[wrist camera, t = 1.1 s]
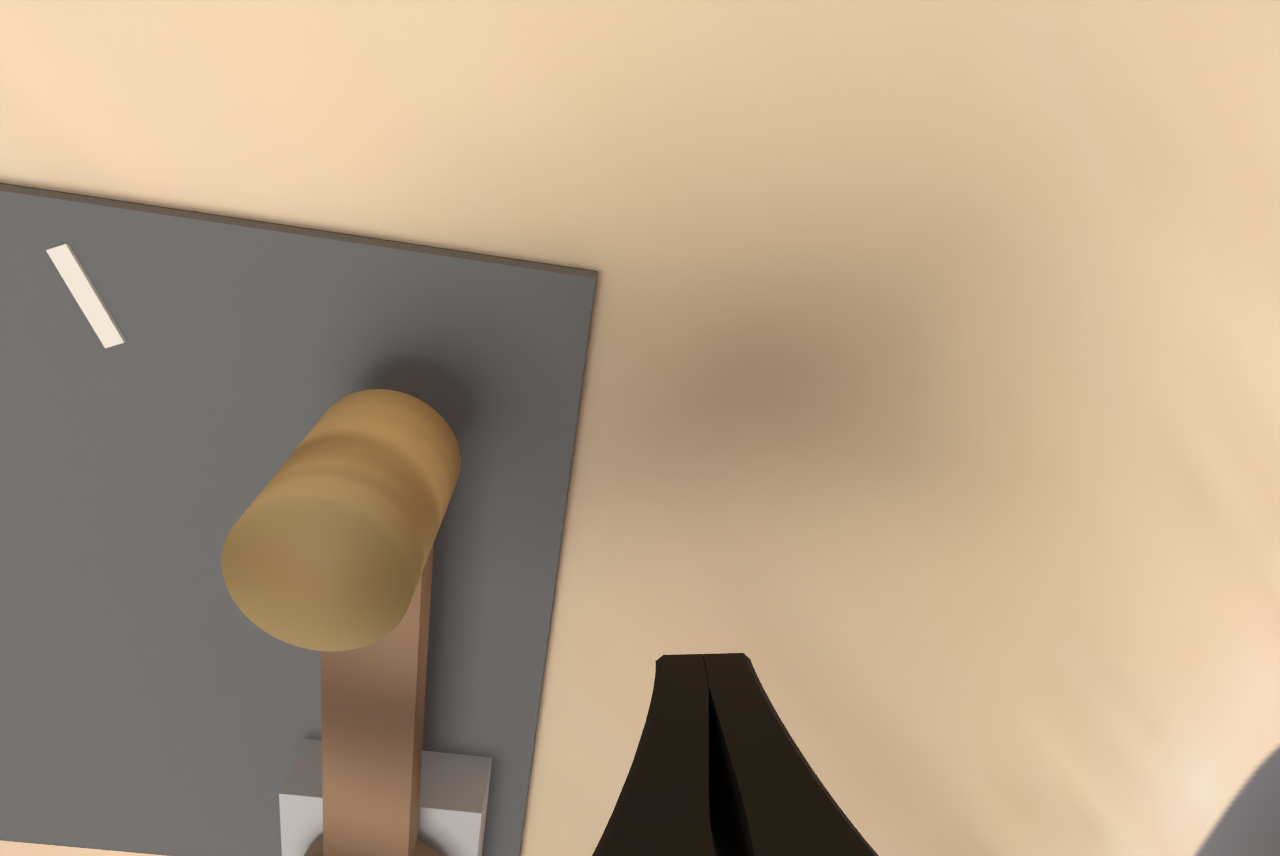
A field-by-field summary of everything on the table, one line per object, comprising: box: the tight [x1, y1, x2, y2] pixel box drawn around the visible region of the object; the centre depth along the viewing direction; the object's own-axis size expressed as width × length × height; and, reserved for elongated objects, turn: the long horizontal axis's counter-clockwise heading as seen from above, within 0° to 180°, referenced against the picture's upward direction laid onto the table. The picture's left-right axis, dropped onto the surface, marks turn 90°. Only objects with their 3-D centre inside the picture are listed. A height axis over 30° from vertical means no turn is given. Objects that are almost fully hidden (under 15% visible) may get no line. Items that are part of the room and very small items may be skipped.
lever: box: [221, 389, 461, 856], centre depth 19 cm, size 18×4×4 cm, turn 171°
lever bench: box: [0, 183, 597, 856], centre depth 22 cm, size 21×19×3 cm
